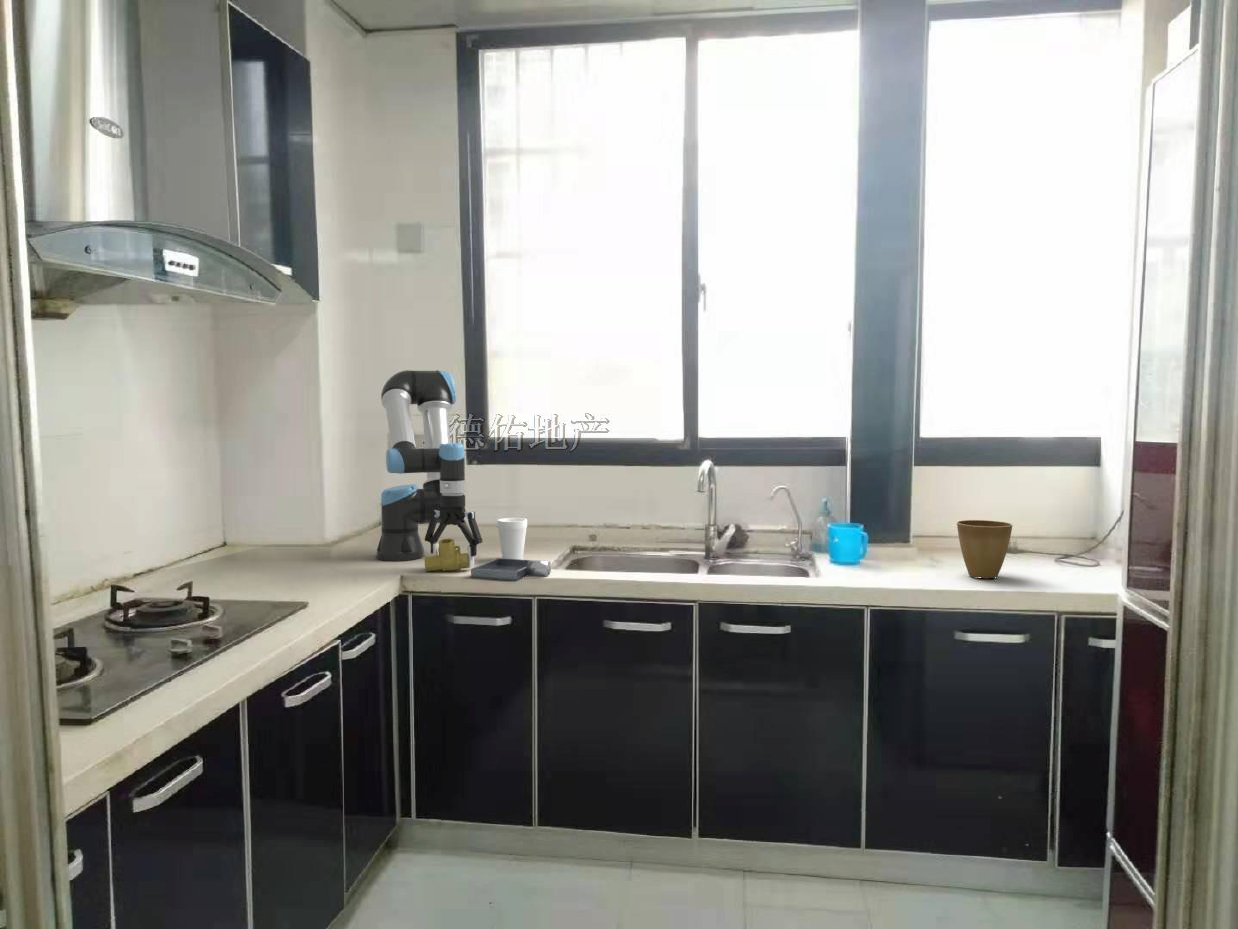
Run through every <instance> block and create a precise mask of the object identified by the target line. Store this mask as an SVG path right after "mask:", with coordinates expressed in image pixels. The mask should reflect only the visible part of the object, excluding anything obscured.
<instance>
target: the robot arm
mask: <svg viewBox="0 0 1238 929" xmlns="http://www.w3.org/2000/svg"><path fill="white" fill-rule="evenodd" d="M454 380H455V379H454V377H453V375H452V374H451V373H450V372H449V371H446V370H438V369H437V370H410V369H409V370H407V369H406V370H402V371H398V372H397V373H395V374H393V375H392V376H391V377H390V378H388V379H387V381H386V382H385V384H384V386H383V388H382V391H381V394H380V396H381V398H380V400H381V405H382V406H383V408H384V409H385V412H386V420H387V427H388V434H389V442H390V449H387V450H386V452H385V465H386V471H387V473H389V474H400V475H401V474H420V473H426V480H425V481H424V482H423V483H422V488H419V487H418V485H417V484H403V485H396V486H392V487H388V488H386V489H384V490H382V492H381V495H380V510H381V511H380V517H381V518H380V520H381V525H380V526H381V535H380V538H379V542H378V544H377V548H376V559H377V560H380V561H386V562H387V561H388V562H389V561H390V562H399V561H400V562H401V561H402V562H403V561H413V560H417V559H418V560H419V559H421V558H423V557H425V548H424V545H423V542H422V540H421V537H420V534H419V525H428V526H427V528H426V533H425V537H424V541H425V542H428V543H429V544H430V554H431V555H432V556H437V555H439V552H438V548H439V541H438V540H439V539H440V538H441V536H442V534H443V532H444V531H445V529H446V528H447V526H449V525H452V526H457V527H458V528H460V530H461V532H462V534H463V535H464V538H465V540H466V541H467V542H468V544H469V545H468V546H467V553H468V567H469V568H470V569H471V568H472V567H473V568H474V566H475V556H477V555H478V554H477V551H478V550H477V546H478V545H479V544H482V543H483V538H482V535H481V532H480V530H479V529H480V528H479V526H478V523H477V520H476V511H466V495H465V493H466V481H465V480H466V478H465V476H466V474H465V470H466V469H465V468H466V466H465V463H466V461H465V460H466V459H465V457H466V453H465V445H464V444H463V443H459V442H451V434H450V423H449V422H450V421H449V412H450V411H451V410H452V409H453V405H454V404H456V403H457V402H456V401H457V393H456V391H457V390H456V384H455V381H454ZM411 405H417V411H418V412H419V413H421V414H422V422H423V436H424V448H417V445H416V441H415V434H414V428H413V422H412V416H411V409H410V406H411ZM465 517H466V519H467V521H466V520H465ZM467 522H468V523H467ZM437 524H439V525H438V527H437ZM467 524H468V525H469V526H468V525H467ZM436 527H437V528H436ZM469 568H468V569H469Z"/></svg>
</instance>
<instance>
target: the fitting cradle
mask: <svg viewBox="0 0 1238 929" xmlns="http://www.w3.org/2000/svg"><path fill="white" fill-rule="evenodd" d="M551 570H552V565H551V561H550V560H540V559H539V560H538V559H523V560H521V559H505V558H502V557H497V558H494V559H492V560H489V561H486V562H484V563H482V564H480V565H478V566H475V567H473V568H472V567H471V568H470V578H472V579H487V580H499V581H500V580H502V581H513V582H518V581H519V580H522V579H524V578H525V576H526V577H528V576H539V575H540V576H541V577H549V576H550V574H551V572H552V571H551ZM527 575H528V576H527ZM548 575H549V576H548ZM523 577H524V578H523Z"/></svg>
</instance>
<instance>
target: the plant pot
mask: <svg viewBox="0 0 1238 929" xmlns="http://www.w3.org/2000/svg"><path fill="white" fill-rule="evenodd" d="M956 527H957V533H958V535H957V536H958V540H959V546H960V550H961V553H962V557H963V562H964V564H965V567H966V570H967V573H968V576H969V575H970V576H972V577H971V578H973V577H981V578H995V577H997V578H998V576H999V574H1000V572H1001V569H1002V567H1003V564H1004V562H1005V560H1006V556H1007V552H1008V548H1009V544H1010V541H1011V535H1012V530H1013V524H1012V523H1010V522H1005V521H998V520H997V521H996V520H986V519H985V520H980V519H963V520H958V521H956ZM970 576H969V577H970Z"/></svg>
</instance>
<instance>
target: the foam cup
mask: <svg viewBox="0 0 1238 929" xmlns="http://www.w3.org/2000/svg"><path fill="white" fill-rule="evenodd" d="M496 523H497V529H498V534H499V543H500V550H501V551H500V552H501V556H502V557H501V558H505V559H521V560H522V559H523V560H524V552H525V543H526V534H527V528H528V519H527V518H523V517H505V518H504V517H503V518H498V519H497V521H496Z"/></svg>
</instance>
